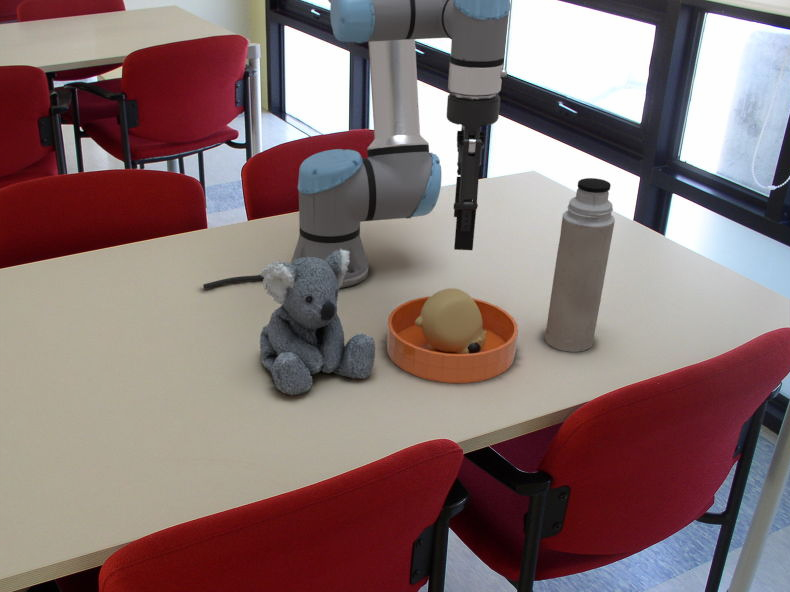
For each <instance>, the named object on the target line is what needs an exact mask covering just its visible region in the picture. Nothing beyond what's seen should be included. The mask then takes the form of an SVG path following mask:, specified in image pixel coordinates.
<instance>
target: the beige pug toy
mask: <svg viewBox="0 0 790 592" xmlns="http://www.w3.org/2000/svg"><path fill="white" fill-rule="evenodd" d="M430 296H431V297H430ZM430 296H429V297H430V298H429V299H428V300H427V301H426V302H425V304H424V305H423V307H422V310H421V315H420V316H419V317H418V318H417V319H416V321H415V324H416V326H417V327H421V329H422V332H423V334H424V336H425V338H426V339H427V341H428V343H427V346H426V347H427V349H428V350H429V351H433V350H435V349H438V350H440V351H444V352H454V353H456V354H473V353H479V352H480V351H481V350H482V348H483V347H484V345H485V342H486V334H487V332H486V331H485V330H484V328H483V321H482V316H481V313H480V311H479V308H478V306H477V305H476V303H475V302H474V300H473V299H472V298H473V297H471V296H470V294H469V293H467V292H465V291H464V290H461V289H459V288H452V287H451V288H444V289H442V290H439V291H437V292H435V293H433V294H432V295H430Z"/></svg>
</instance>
